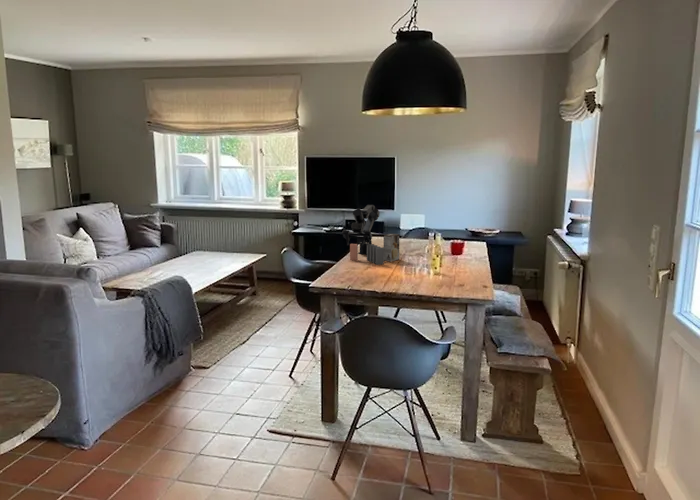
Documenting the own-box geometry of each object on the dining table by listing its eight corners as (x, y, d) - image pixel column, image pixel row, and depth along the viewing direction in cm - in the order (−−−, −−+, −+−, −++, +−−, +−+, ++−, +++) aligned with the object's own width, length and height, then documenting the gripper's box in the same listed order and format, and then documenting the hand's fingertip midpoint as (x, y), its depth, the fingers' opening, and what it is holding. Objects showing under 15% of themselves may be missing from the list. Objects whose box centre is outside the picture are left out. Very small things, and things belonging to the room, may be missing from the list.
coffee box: (391, 258, 344) (391, 233, 341) (399, 259, 340) (399, 234, 338) (383, 260, 337) (383, 235, 334) (391, 261, 333) (392, 236, 330)
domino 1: (366, 260, 338) (366, 244, 336) (373, 259, 340) (373, 244, 338) (367, 260, 336) (367, 244, 335) (374, 260, 338) (374, 244, 336)
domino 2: (369, 261, 334) (369, 245, 332) (376, 261, 335) (376, 245, 334) (370, 262, 332) (370, 246, 330) (377, 261, 334) (377, 245, 332)
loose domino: (350, 259, 341) (350, 243, 339) (357, 259, 340) (357, 244, 338) (350, 259, 339) (350, 244, 338) (356, 260, 338) (356, 244, 336)
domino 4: (375, 264, 326) (375, 247, 324) (382, 263, 327) (382, 247, 325) (376, 264, 324) (377, 248, 322) (383, 264, 326) (383, 247, 324)
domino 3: (372, 262, 330) (372, 246, 328) (379, 262, 331) (379, 246, 330) (373, 263, 328) (373, 247, 326) (380, 262, 330) (380, 246, 328)
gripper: (342, 217, 344) (337, 237, 335) (371, 218, 338) (365, 238, 330) (346, 228, 353) (341, 247, 344) (374, 229, 347) (369, 249, 338)
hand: (354, 245), depth 339 cm, fingers open, 9 cm apart
